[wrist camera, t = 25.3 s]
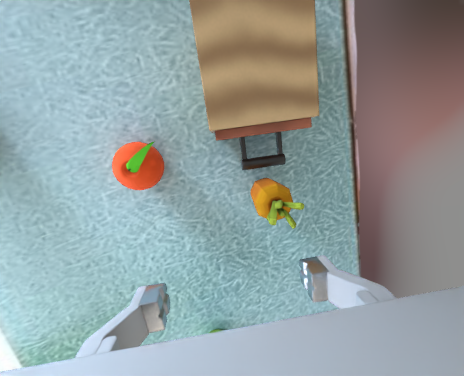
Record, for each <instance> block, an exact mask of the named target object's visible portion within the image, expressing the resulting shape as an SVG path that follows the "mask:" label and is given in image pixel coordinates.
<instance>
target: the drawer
mask: <svg viewBox="0 0 464 376" xmlns="http://www.w3.org/2000/svg"><path fill="white" fill-rule="evenodd" d="M310 127H312V126H311V117H309V118H302V119H295V120H288V121H280V122H273V123H266V124H259V125H252V126H244V127H237V128H230V129H223V130H215V136H216V140H224V139H231V138H238V137H240V144H241V152H242V160H241V166H242V170H248V169H255V168H262V167H269V166H276V165H283V164H285V155H284V154H283V152H282V140H281V131H288V130H295V129H303V128H310ZM274 132H276V143H277V155H270V156H263V157H256V158H249V159H247V155H246V146H245V138H244V137H245V136H253V135H260V134H267V133H274Z"/></svg>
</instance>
